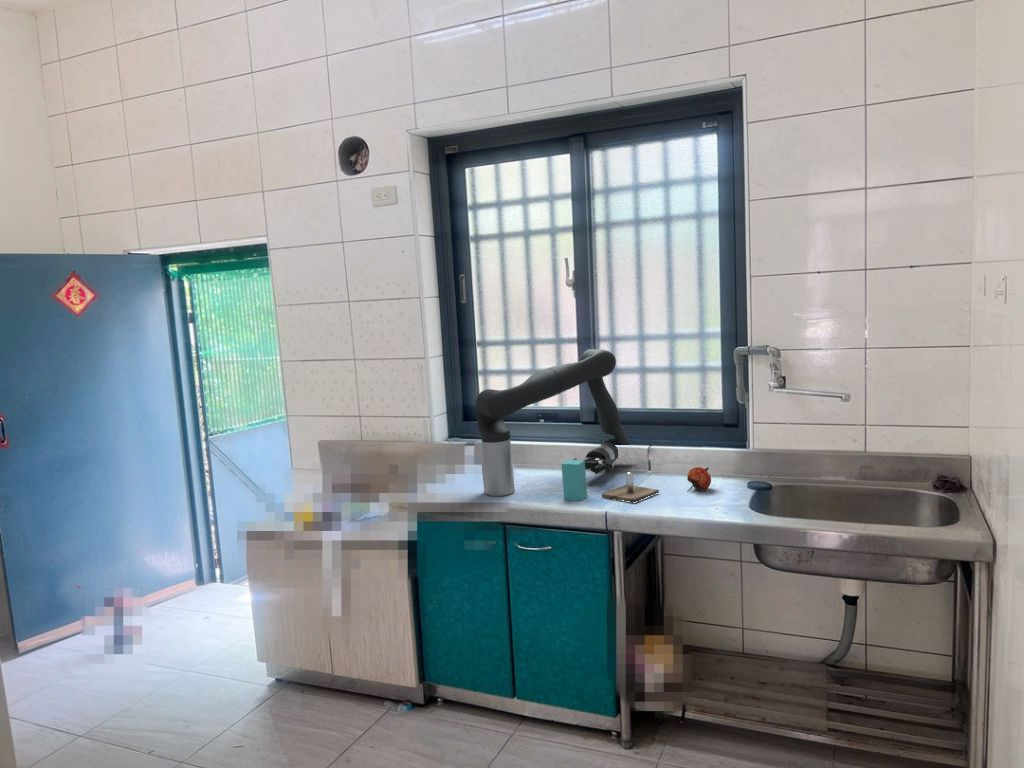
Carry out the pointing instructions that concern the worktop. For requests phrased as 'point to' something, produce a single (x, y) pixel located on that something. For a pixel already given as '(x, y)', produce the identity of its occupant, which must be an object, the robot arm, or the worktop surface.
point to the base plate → (632, 497)
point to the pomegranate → (699, 478)
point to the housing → (574, 479)
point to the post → (629, 482)
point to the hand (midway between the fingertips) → (583, 470)
